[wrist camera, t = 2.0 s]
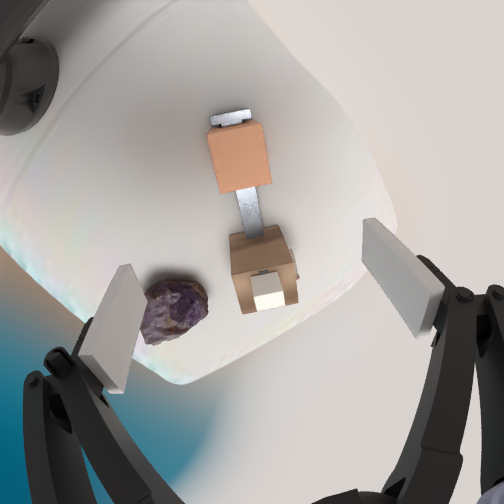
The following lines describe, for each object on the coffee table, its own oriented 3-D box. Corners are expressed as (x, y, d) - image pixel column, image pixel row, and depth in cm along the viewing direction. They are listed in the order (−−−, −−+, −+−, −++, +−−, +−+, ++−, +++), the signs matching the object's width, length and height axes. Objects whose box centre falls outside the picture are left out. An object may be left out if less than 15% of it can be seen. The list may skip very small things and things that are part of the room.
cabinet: (229, 234, 40) (231, 276, 31) (283, 223, 40) (300, 261, 31) (238, 269, 43) (242, 315, 34) (288, 259, 43) (304, 302, 34)
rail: (211, 116, 31) (209, 117, 28) (246, 108, 31) (249, 109, 28) (239, 239, 40) (241, 253, 37) (270, 232, 40) (274, 246, 37)
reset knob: (250, 276, 31) (253, 297, 28) (277, 271, 31) (283, 290, 28) (253, 291, 32) (257, 311, 29) (279, 285, 32) (285, 305, 29)
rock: (213, 293, 46) (173, 251, 41) (221, 327, 39) (173, 281, 34) (162, 329, 47) (121, 293, 42) (162, 364, 39) (113, 327, 35)
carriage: (210, 128, 32) (206, 135, 24) (252, 119, 32) (261, 124, 24) (221, 172, 35) (220, 193, 27) (260, 164, 35) (272, 183, 27)
